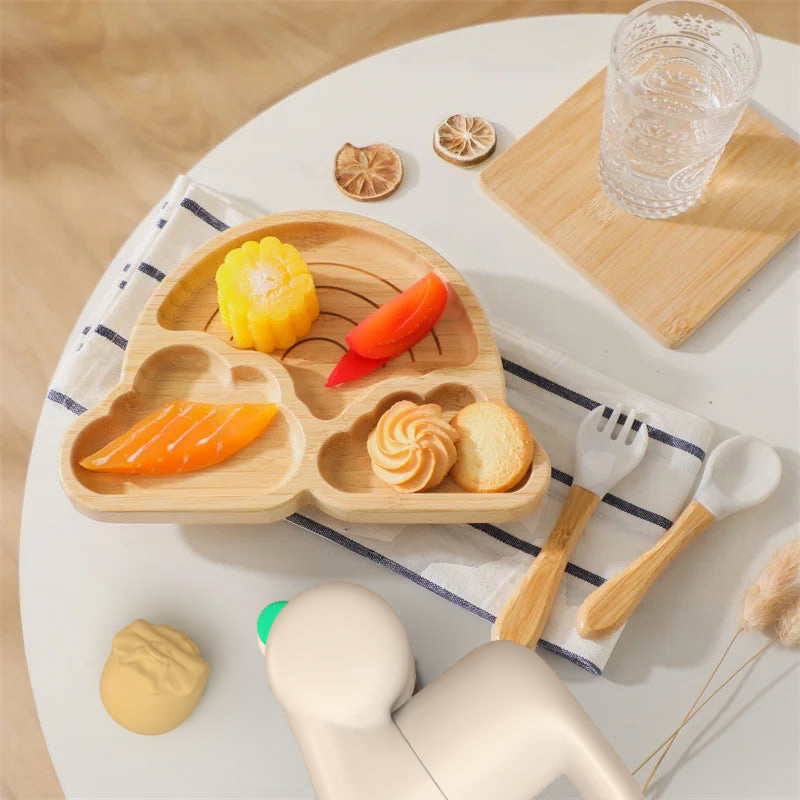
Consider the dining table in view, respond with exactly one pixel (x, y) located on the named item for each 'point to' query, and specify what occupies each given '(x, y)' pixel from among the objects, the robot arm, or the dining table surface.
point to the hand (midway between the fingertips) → (375, 689)
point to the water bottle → (268, 621)
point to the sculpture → (152, 678)
